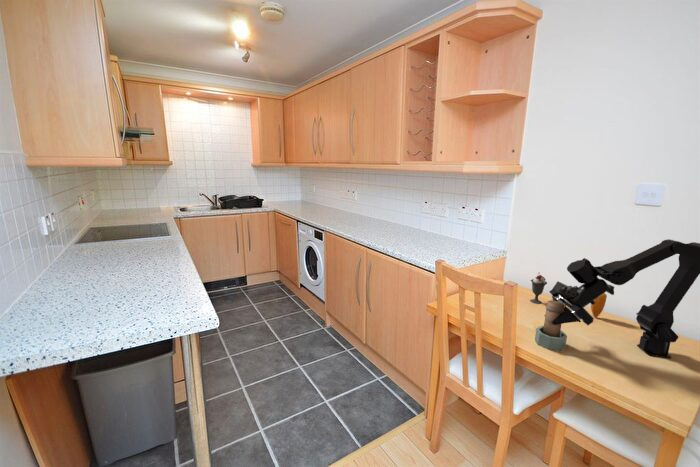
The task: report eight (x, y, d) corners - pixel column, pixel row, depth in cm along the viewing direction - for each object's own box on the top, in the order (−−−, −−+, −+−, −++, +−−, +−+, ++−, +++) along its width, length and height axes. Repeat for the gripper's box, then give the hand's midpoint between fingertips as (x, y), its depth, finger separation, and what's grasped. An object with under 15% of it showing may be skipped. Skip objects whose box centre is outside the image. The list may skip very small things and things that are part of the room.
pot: (558, 339, 115) (560, 327, 114) (568, 352, 107) (570, 340, 106) (532, 336, 117) (533, 324, 116) (540, 348, 109) (542, 336, 108)
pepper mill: (549, 333, 115) (554, 299, 112) (563, 340, 110) (568, 305, 107) (538, 335, 113) (543, 301, 111) (551, 342, 108) (556, 307, 106)
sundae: (531, 304, 146) (535, 273, 143) (525, 298, 152) (529, 268, 149) (546, 305, 145) (551, 274, 142) (540, 299, 151) (544, 269, 148)
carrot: (602, 316, 134) (607, 283, 131) (603, 321, 129) (609, 286, 127) (587, 313, 136) (593, 281, 133) (588, 318, 132) (594, 284, 129)
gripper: (558, 267, 116) (523, 293, 119) (588, 285, 97) (545, 315, 101) (578, 288, 116) (542, 314, 120) (612, 310, 98) (569, 340, 102)
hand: (548, 320), depth 110 cm, fingers closed on pepper mill, 5 cm apart
